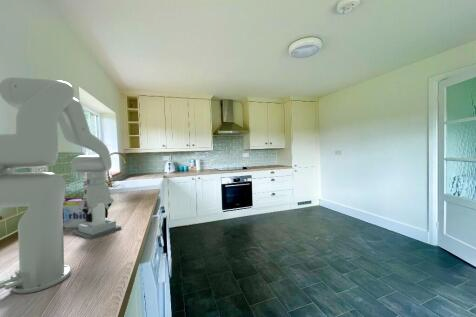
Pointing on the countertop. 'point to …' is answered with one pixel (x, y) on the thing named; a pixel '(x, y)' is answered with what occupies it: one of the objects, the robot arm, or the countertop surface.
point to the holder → (96, 229)
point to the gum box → (73, 213)
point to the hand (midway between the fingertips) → (97, 219)
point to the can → (98, 215)
